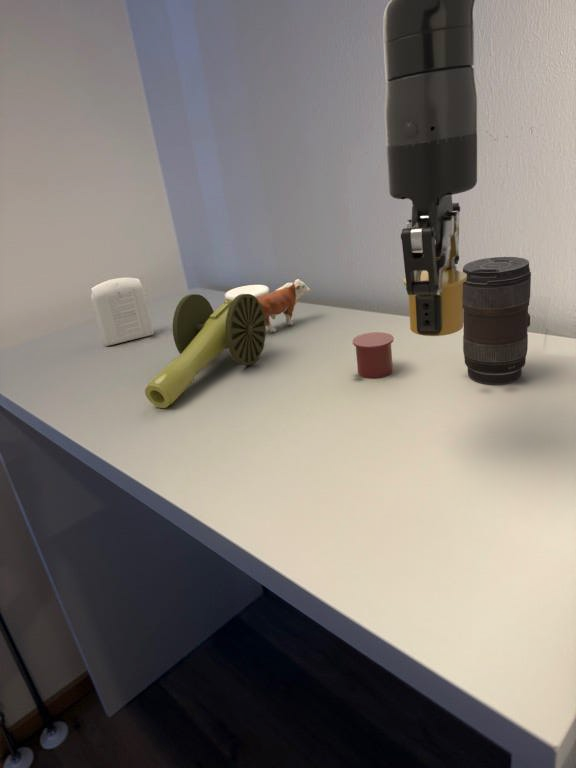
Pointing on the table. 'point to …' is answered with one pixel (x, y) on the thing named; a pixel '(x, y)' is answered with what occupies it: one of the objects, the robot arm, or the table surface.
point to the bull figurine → (282, 301)
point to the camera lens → (496, 318)
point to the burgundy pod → (374, 354)
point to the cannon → (208, 341)
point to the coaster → (247, 291)
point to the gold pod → (444, 302)
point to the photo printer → (121, 310)
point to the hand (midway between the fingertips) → (436, 321)
